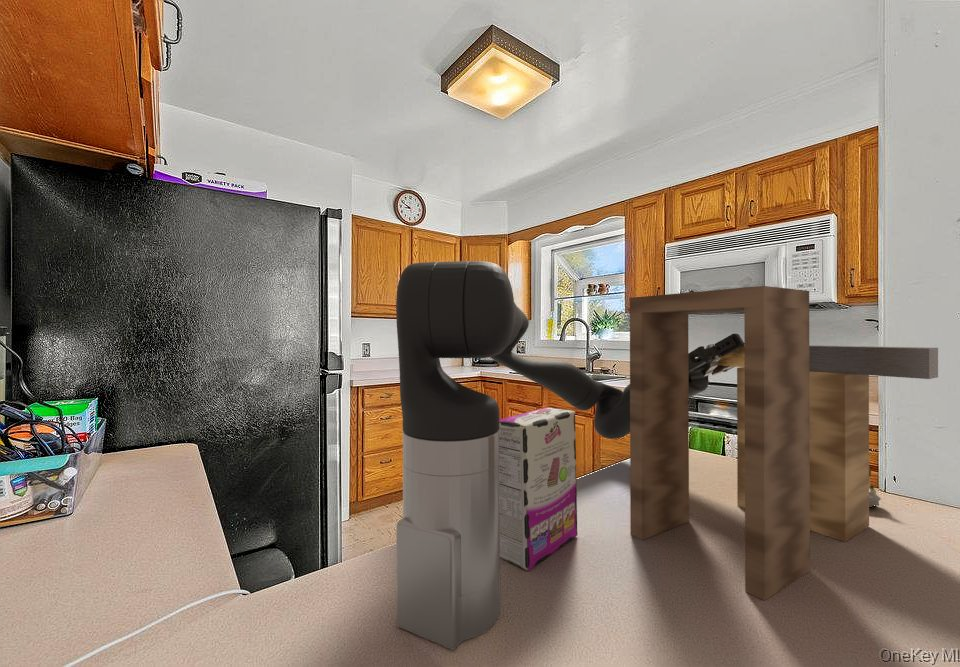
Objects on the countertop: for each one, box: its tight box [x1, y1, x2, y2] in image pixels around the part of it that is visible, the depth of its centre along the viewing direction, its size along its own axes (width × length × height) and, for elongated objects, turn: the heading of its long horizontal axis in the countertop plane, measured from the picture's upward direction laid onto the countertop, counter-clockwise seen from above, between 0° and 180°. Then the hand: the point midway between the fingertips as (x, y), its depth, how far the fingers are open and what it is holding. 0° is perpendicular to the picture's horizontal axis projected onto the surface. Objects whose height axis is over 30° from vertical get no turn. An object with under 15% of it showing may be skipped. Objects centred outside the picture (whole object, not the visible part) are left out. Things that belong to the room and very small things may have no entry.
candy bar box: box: [499, 407, 579, 571], centre depth 52 cm, size 11×5×16 cm, turn 137°
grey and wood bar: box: [718, 344, 939, 380], centre depth 59 cm, size 24×4×4 cm, turn 31°
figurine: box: [869, 469, 882, 507], centre depth 64 cm, size 5×4×6 cm
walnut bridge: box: [629, 285, 811, 601], centre depth 51 cm, size 10×16×31 cm, turn 31°
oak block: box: [736, 367, 870, 543], centre depth 60 cm, size 13×8×21 cm, turn 31°
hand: (755, 338), depth 65 cm, fingers open, 8 cm apart
